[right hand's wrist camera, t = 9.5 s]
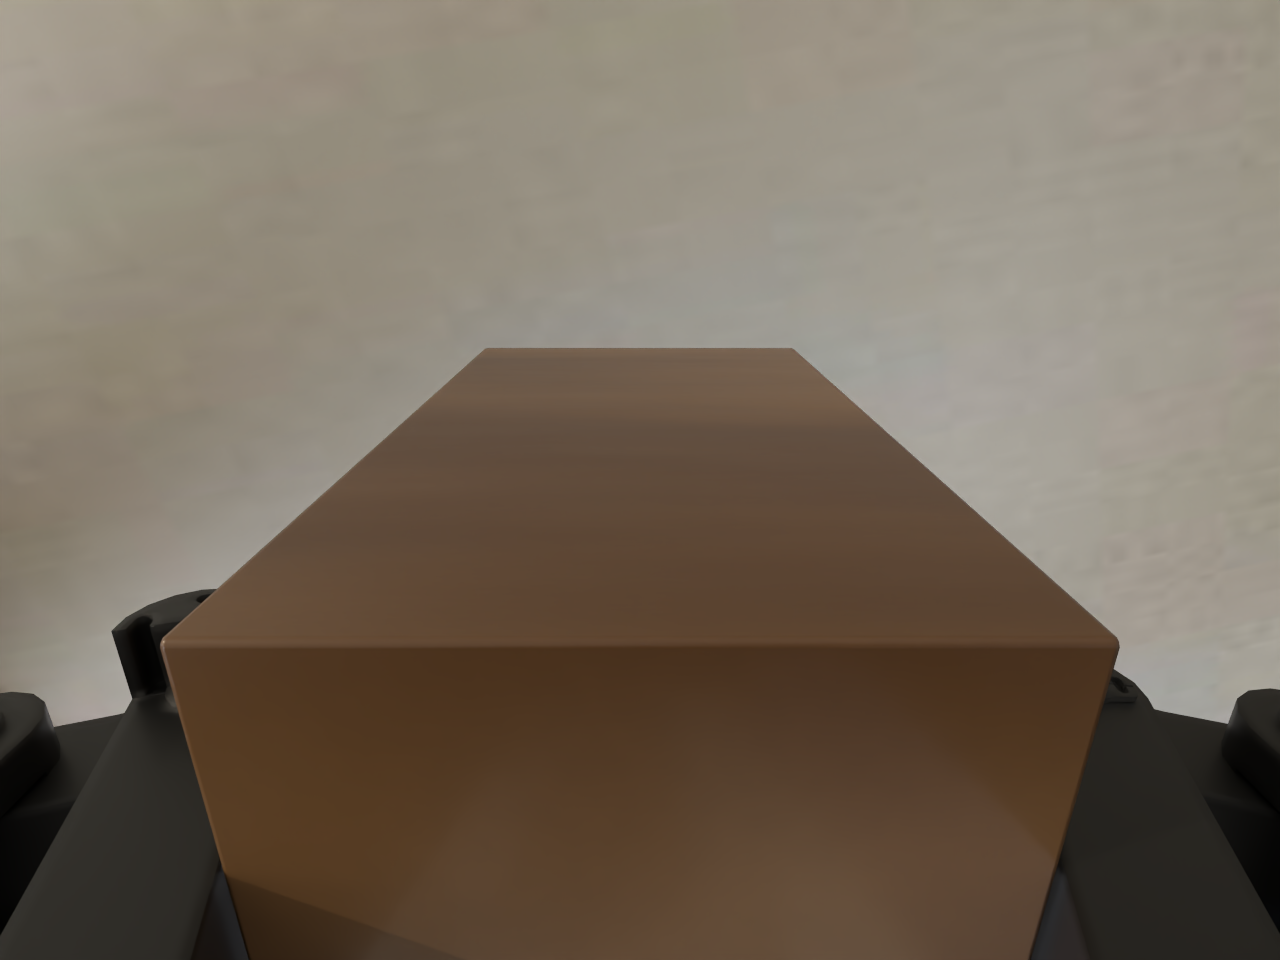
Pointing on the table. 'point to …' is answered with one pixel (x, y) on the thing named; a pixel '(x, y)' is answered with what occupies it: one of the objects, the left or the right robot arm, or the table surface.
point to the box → (639, 684)
